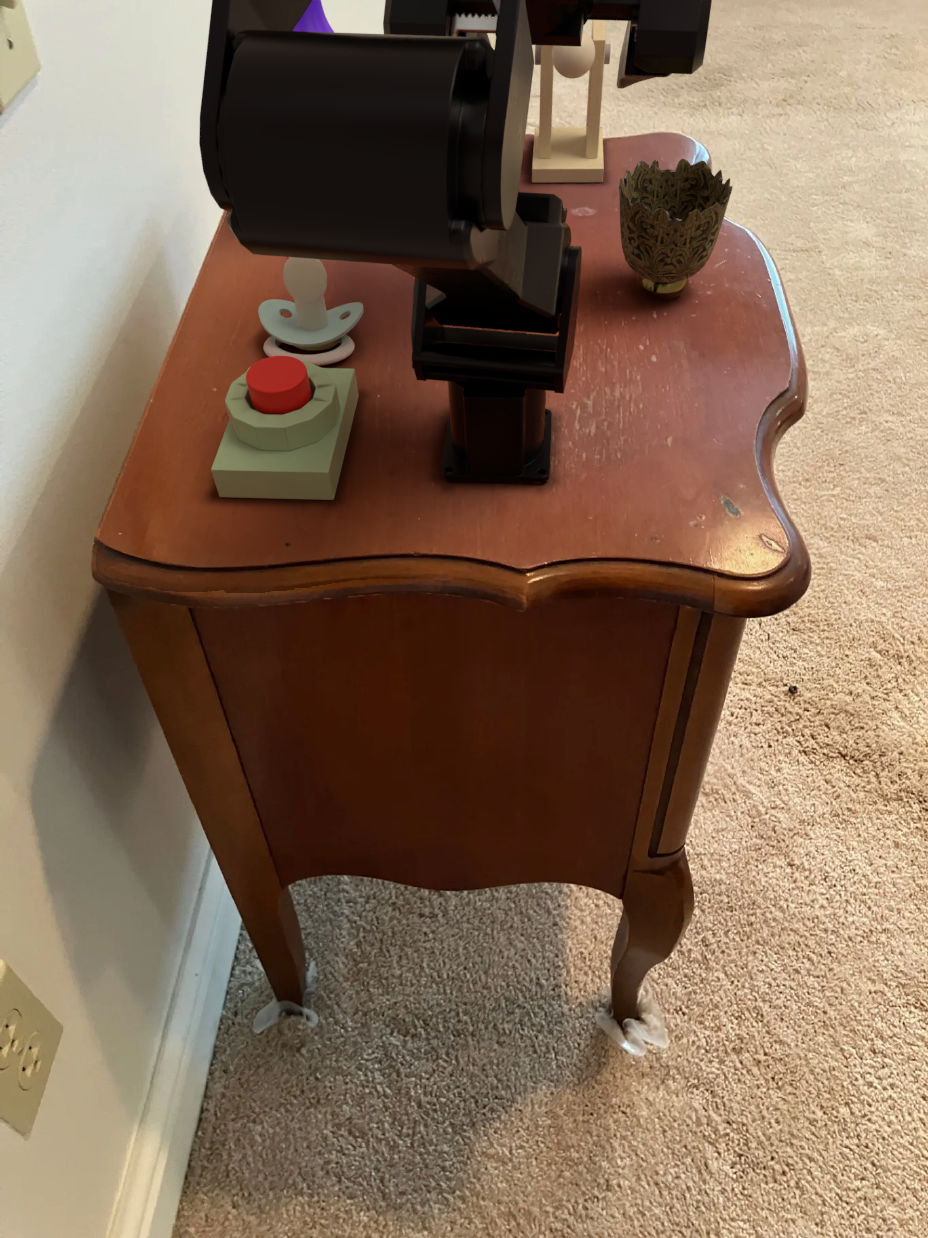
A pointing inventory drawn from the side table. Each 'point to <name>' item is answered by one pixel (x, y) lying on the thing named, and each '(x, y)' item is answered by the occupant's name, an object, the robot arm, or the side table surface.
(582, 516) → the side table surface
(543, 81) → the egg display stand
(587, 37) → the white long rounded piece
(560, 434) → the side table surface
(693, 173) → the cup
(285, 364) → the alarm button
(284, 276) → the pacifier
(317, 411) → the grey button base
